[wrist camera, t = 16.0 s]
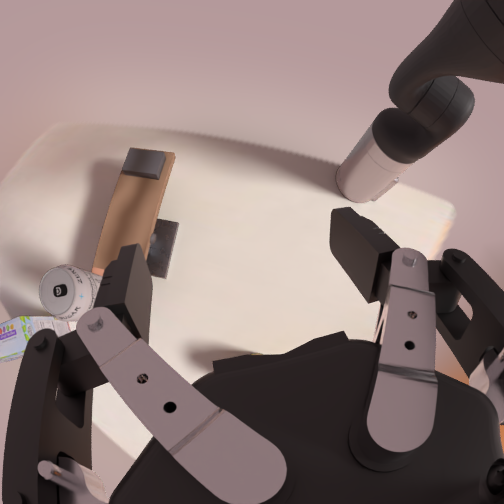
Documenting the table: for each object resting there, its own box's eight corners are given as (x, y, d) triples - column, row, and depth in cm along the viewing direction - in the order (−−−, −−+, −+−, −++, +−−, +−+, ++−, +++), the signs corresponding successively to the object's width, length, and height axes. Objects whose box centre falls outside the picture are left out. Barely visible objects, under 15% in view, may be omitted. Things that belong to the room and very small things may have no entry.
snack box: (7, 364, 42) (-38, 370, 27) (0, 339, 43) (-45, 340, 28) (75, 342, 45) (29, 348, 31) (66, 314, 46) (19, 311, 32)
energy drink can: (89, 283, 39) (32, 267, 24) (124, 275, 40) (76, 256, 25) (95, 323, 38) (39, 324, 23) (131, 317, 39) (84, 317, 24)
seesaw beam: (179, 160, 47) (175, 146, 43) (136, 330, 41) (127, 332, 37) (131, 154, 47) (124, 141, 42) (86, 315, 40) (73, 315, 36)
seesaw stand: (179, 224, 51) (173, 212, 45) (166, 278, 49) (157, 274, 43) (119, 213, 51) (107, 201, 45) (105, 264, 49) (91, 258, 43)
